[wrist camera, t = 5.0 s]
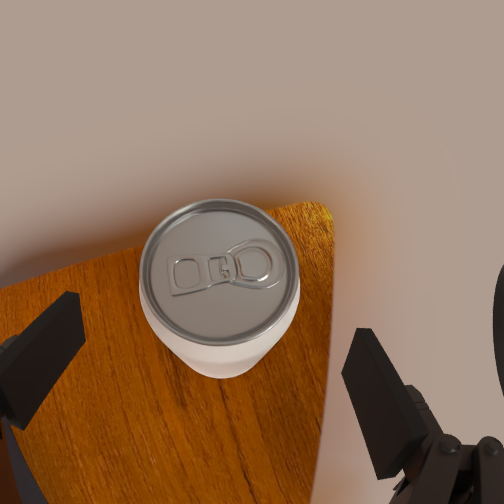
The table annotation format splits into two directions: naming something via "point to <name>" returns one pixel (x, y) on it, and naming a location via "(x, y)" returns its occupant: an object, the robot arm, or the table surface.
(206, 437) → the table surface
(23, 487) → the tray
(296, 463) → the table surface
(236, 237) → the can
